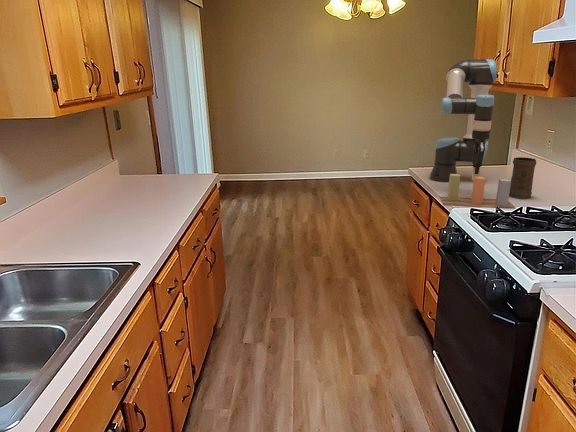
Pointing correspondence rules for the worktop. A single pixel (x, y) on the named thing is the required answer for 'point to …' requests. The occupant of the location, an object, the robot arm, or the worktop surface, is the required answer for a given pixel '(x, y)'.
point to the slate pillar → (503, 192)
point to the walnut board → (467, 203)
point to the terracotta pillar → (478, 190)
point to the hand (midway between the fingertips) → (474, 180)
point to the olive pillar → (453, 187)
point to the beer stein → (522, 178)
